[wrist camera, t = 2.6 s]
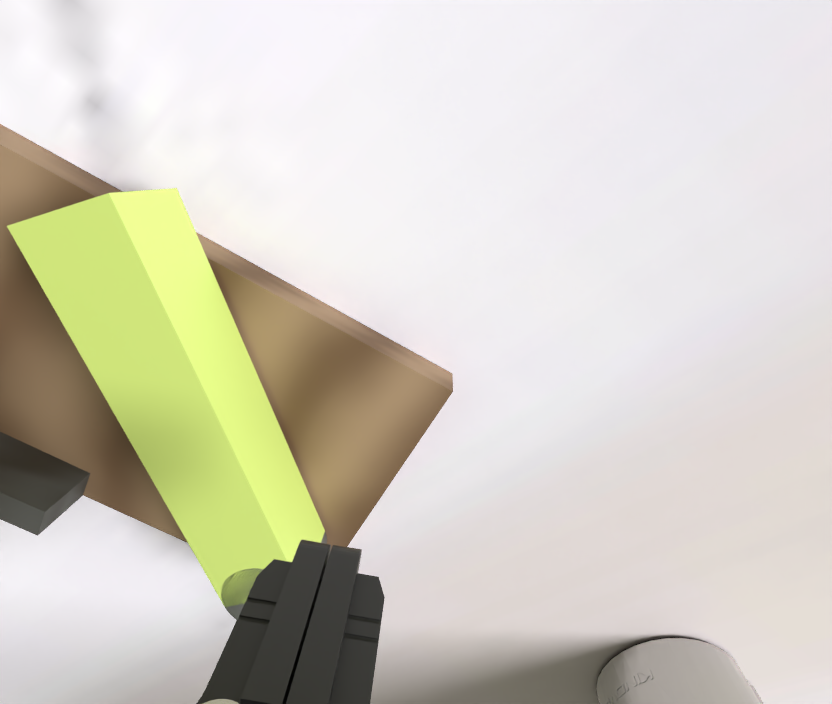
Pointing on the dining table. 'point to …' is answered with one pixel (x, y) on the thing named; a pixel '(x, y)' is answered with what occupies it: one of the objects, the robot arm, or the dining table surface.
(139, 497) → the board
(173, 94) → the dining table surface
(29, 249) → the yellow-green long bar
